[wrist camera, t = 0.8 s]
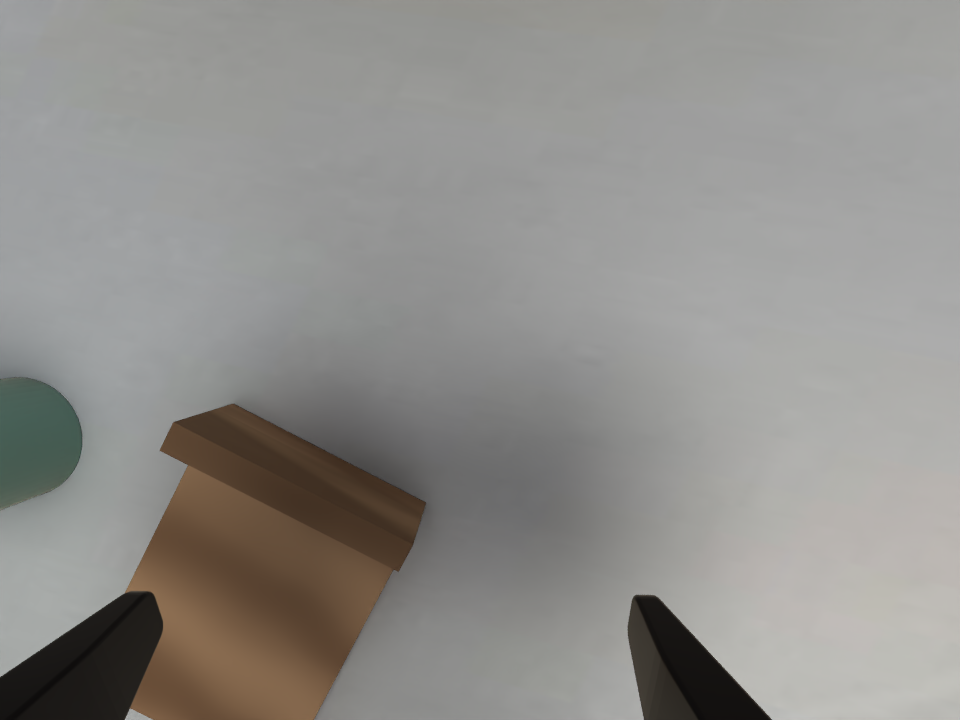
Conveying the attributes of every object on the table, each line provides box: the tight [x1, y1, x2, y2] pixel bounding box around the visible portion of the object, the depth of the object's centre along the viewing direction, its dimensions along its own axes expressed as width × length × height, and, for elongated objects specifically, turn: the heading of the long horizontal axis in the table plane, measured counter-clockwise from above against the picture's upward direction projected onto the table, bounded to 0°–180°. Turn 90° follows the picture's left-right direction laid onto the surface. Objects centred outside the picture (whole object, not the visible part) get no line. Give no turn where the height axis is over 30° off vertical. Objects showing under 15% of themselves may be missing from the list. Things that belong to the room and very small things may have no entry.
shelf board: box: [125, 404, 426, 720], centre depth 21 cm, size 14×10×4 cm
